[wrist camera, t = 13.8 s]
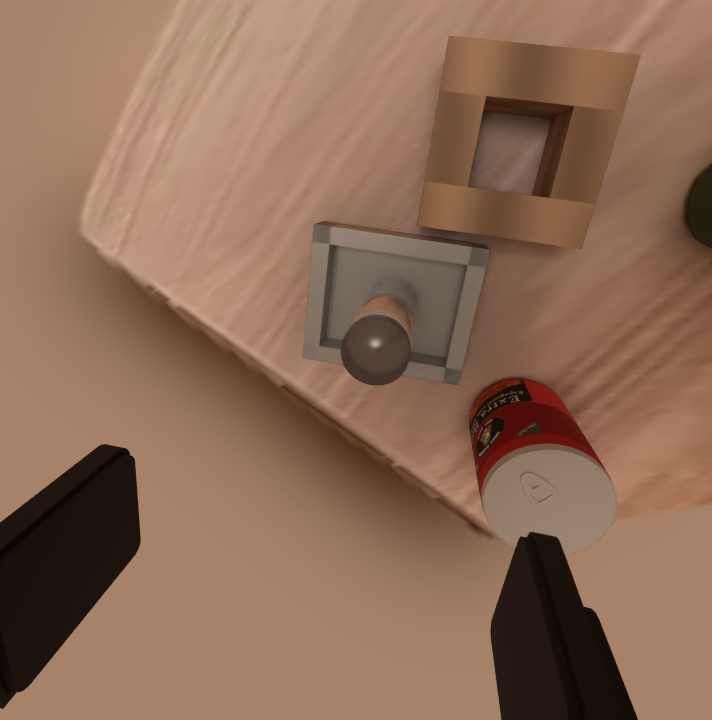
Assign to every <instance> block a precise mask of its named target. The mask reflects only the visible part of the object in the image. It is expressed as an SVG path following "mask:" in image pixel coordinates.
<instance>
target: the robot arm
mask: <svg viewBox="0 0 712 720" xmlns="http://www.w3.org/2000/svg"><path fill="white" fill-rule="evenodd" d="M140 540H141V538H140V524H139V511H138V497H137V482H136V469H135V459H134V457H133V456H130V452H129V451H128V450H127V449H126V448H121V447H116V446H111V445H106V444H104V445H100V446H98V447H97V448H96V449H94V450H93V451H92V452H91V453H89V454H88V455H87V456H86V457H84V458H83V459H82V460H80V461H79V462H78V463H76V464H75V465H74V466H73V467H71V468H70V469H69V470H67V471H66V472H65V473H64V474H62V475H61V476H60V477H58V478H57V479H56V480H55V481H53V482H52V483H51V484H50V485H48V486H47V487H45V488H44V489H43V490H42V491H40V492H39V493H38V494H36V495H35V496H34V497H32V498H31V499H30V500H29V501H27V502H26V503H25V504H23V505H22V506H21V507H20V508H18V509H17V510H16V511H15V512H13V513H12V514H11V515H10V516H8V517H7V518H6V519H4V520H3V521H2V522H0V708H2V709H3V708H4V707H5V706H6V704H7V703H8V702H9V701H10V700H11V698H12V697H13V696H14V695H15V694H16V692H21V691H23V690H25V689H26V688H27V687H28V686H29V685H30V684H31V683H32V682H33V680H34V679H35V678H36V677H37V675H38V674H39V673H40V672H41V671H42V669H43V668H44V667H45V666H46V664H47V663H48V662H49V660H50V659H51V658H52V657H53V656H54V654H55V653H56V652H57V651H58V650H59V648H60V647H61V646H62V645H63V643H64V642H65V641H66V640H67V638H68V637H69V636H70V635H71V634H72V632H73V631H74V630H75V629H76V627H77V626H78V625H79V624H80V622H81V621H82V620H83V619H84V617H85V616H86V615H87V614H88V612H89V611H90V610H91V609H92V607H93V606H94V605H95V604H96V603H97V601H98V600H99V599H100V598H101V596H102V595H103V594H104V593H105V592H106V590H107V589H108V588H109V587H110V585H111V584H112V583H113V581H114V580H115V579H116V578H117V577H118V575H119V574H120V573H121V572H122V571H123V569H124V568H125V567H126V566H127V564H128V563H129V562H130V561H131V559H132V558H133V557H134V556H135V554H136V552H137V551H138V548H139V546H140ZM491 643H492V650H493V658H494V666H495V673H496V681H497V689H498V696H499V704H500V712H501V719H502V720H638V719H637V716H636V713H635V711H634V708H633V706H632V703H631V701H630V698H629V695H628V693H627V690H626V688H625V685H624V682H623V680H622V677H621V675H620V672H619V669H618V667H617V664H616V662H615V659H614V657H613V654H612V651H611V649H610V646H609V644H608V641H607V638H606V636H605V633H604V631H603V628H602V626H601V623H600V621H599V618H598V616H597V614H596V613H595V612H594V611H593V610H592V609H591V608H587V607H583V604H582V601H581V598H580V596H579V593H578V590H577V587H576V584H575V582H574V579H573V576H572V573H571V571H570V568H569V565H568V563H567V560H566V557H565V554H564V551H563V549H562V546H561V543H560V541H559V539H558V538H557V537H555V536H551V535H546V534H541V533H536V532H530V533H529V534H528V536H527V537H522V536H521V537H520V538H519V540H518V542H517V545H516V548H515V551H514V554H513V557H512V560H511V563H510V567H509V570H508V572H507V575H506V578H505V581H504V584H503V588H502V590H501V593H500V596H499V600H498V603H497V605H496V609H495V612H494V615H493V618H492V621H491Z"/></svg>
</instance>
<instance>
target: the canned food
mask: <svg viewBox="0 0 712 720" xmlns="http://www.w3.org/2000/svg"><path fill="white" fill-rule="evenodd" d="M469 428H470V434H471V441H472V447H473V454H474V460H475V467H476V473H477V480H478V486H479V492H480V497H481V502H482V507H483V511H484V513H485V517H486V519H487V521H488V523H489V525H490V527H491V528H492V529H493V530H494V532H495V533H496V534H497V535H498V536H499V537H500V538H501V539H502V540H503V541H505V542H506V543H508V544H509V545H511V546H512V547H514V548H516V545H517V542H518V540H519V538H520V537H521V536H522V537H527V536H528V534H529V533H530V532H536V533H541V534H546V535H551V536H555V537H557V538H558V539H559V541H560V543H561V546H562V549H563V551H564V554H565V555H569V554H574V553H577V552H580V551H582V550H585V549H587V548H589V547H590V546H592V545H594V544H595V543H597V542H598V541H599V540H600V539H601V538H602V537H603V536H605V535H606V533H607V532H608V530H609V529H610V528H611V526H612V525H613V522H614V520H615V517H616V514H617V507H618V502H617V494H616V491H615V489H614V486H613V483H612V481H611V478H610V476H609V475H608V473H607V472H606V470H605V468H604V466H603V465H602V463H601V461H600V460H599V458H598V457H597V455H596V453H595V452H594V450H593V449H592V447H591V446H590V444H589V442H588V441H587V439H586V438H585V436H584V435H583V433H582V431H581V430H580V428H579V427H578V425H577V424H576V422H575V420H574V419H573V417H572V416H571V414H570V412H569V411H568V409H567V408H566V406H565V405H564V403H563V402H562V400H561V399H560V398H559V397H558V396H557V395H556V394H555V393H554V392H553V391H552V390H550V389H548V388H547V387H545V386H543V385H541V384H538V383H536V382H533V381H529V380H524V379H511V380H505V381H502V382H499V383H496V384H494V385H492V386H491V387H489V388H487V389H486V390H485V391H484V392H483V393H482V394H481V395H480V396H479V398H478V399H477V400H476V402H475V404H474V406H473V408H472V410H471V414H470V418H469Z"/></svg>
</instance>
